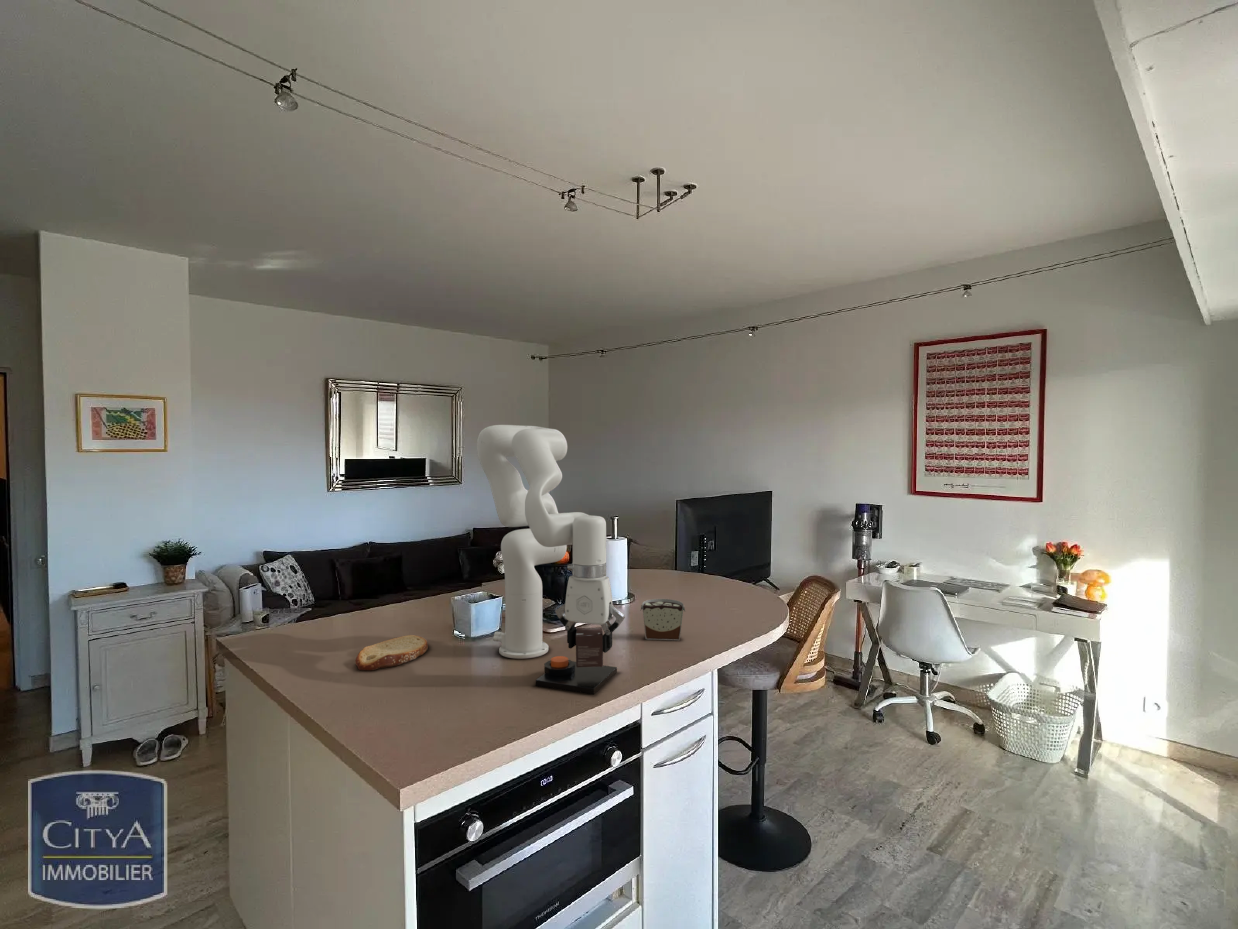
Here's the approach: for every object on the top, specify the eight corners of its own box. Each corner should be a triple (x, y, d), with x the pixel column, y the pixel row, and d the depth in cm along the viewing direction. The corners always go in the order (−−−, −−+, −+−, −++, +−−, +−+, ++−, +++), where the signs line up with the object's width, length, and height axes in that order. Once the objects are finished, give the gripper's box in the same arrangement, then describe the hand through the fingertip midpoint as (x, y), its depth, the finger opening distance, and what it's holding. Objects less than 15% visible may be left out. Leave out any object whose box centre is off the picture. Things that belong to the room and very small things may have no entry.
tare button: (547, 667, 142) (547, 660, 142) (555, 661, 146) (555, 655, 146) (563, 669, 141) (563, 663, 141) (571, 664, 145) (571, 657, 144)
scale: (531, 685, 138) (531, 672, 138) (559, 665, 151) (559, 653, 151) (593, 695, 133) (593, 681, 133) (617, 673, 146) (617, 660, 146)
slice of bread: (424, 641, 169) (424, 628, 169) (435, 662, 153) (435, 647, 153) (353, 650, 162) (352, 636, 162) (356, 673, 146) (356, 657, 145)
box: (603, 658, 144) (603, 627, 144) (603, 667, 138) (603, 634, 138) (576, 659, 144) (576, 627, 143) (575, 668, 138) (575, 635, 137)
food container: (685, 634, 177) (685, 598, 176) (685, 640, 171) (685, 604, 170) (641, 632, 178) (641, 597, 178) (640, 639, 172) (640, 603, 172)
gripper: (547, 571, 140) (547, 649, 140) (619, 577, 134) (619, 658, 134) (561, 565, 147) (561, 640, 147) (631, 570, 141) (631, 648, 141)
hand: (589, 648), depth 141 cm, fingers closed on box, 7 cm apart
